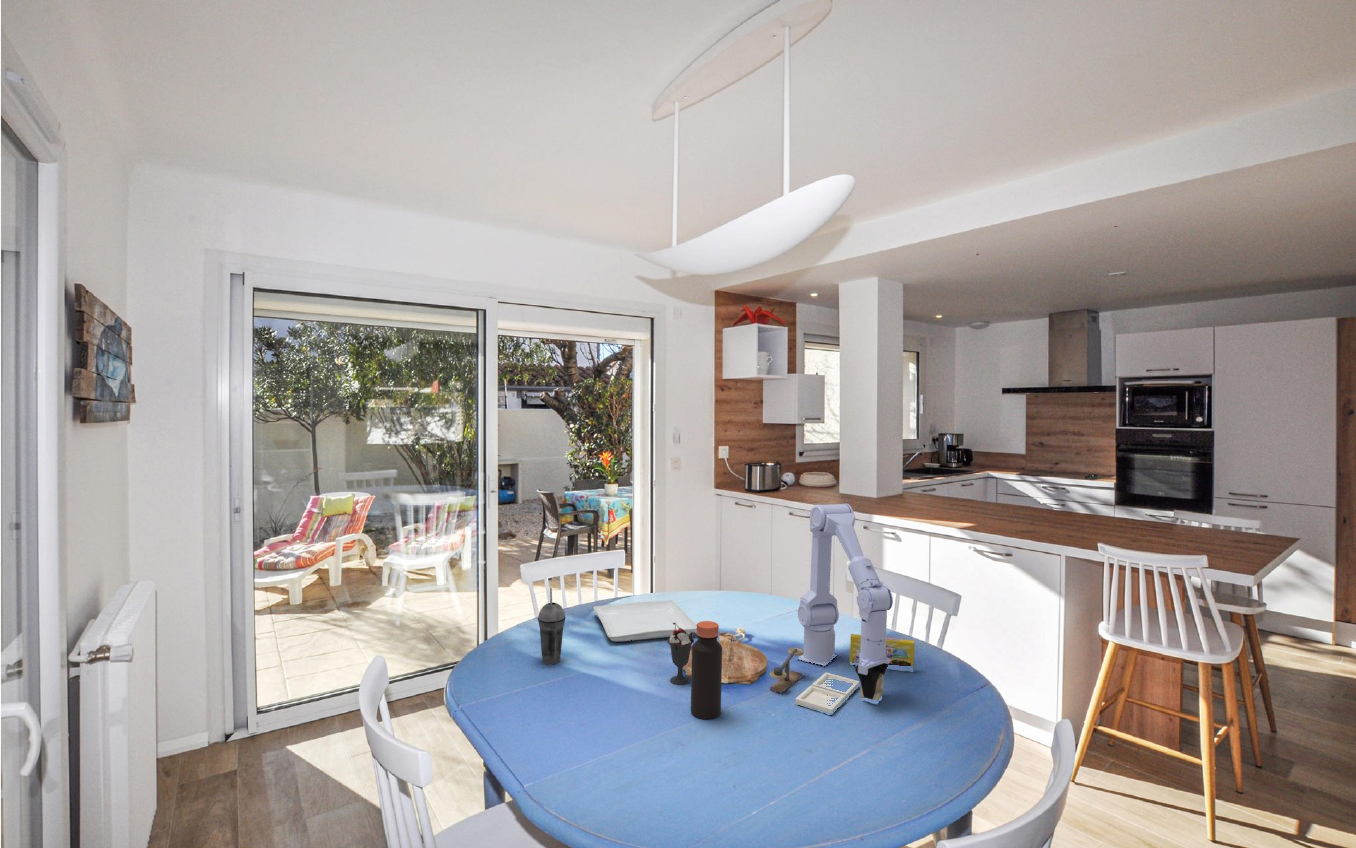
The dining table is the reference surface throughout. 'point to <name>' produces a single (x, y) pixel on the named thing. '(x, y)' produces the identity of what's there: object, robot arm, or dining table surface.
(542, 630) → the beverage cup
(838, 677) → the white square tray
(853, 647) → the candy box
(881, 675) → the maple block
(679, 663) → the sundae
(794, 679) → the balance
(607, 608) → the square plate
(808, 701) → the outer dish
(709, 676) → the bottle
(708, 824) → the dining table surface
